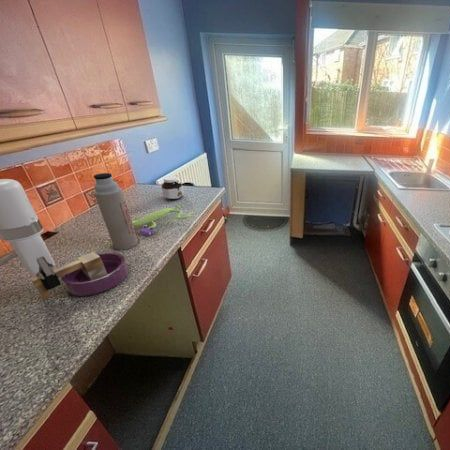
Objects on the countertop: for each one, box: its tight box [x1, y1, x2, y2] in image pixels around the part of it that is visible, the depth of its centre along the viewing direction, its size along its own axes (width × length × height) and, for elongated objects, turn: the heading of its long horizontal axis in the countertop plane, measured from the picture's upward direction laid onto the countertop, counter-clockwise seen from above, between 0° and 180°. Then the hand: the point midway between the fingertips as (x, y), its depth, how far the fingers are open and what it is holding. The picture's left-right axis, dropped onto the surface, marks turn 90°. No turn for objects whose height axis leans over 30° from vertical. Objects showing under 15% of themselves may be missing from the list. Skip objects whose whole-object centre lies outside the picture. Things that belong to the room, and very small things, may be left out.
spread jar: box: [161, 175, 185, 201], centre depth 139 cm, size 12×11×12 cm
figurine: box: [131, 204, 196, 236], centre depth 112 cm, size 18×27×6 cm
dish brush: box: [30, 251, 107, 301], centre depth 74 cm, size 15×5×7 cm, turn 147°
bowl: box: [60, 252, 129, 297], centre depth 78 cm, size 16×16×5 cm
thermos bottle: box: [93, 172, 139, 251], centre depth 91 cm, size 8×8×28 cm
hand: (51, 284), depth 71 cm, fingers closed on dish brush
